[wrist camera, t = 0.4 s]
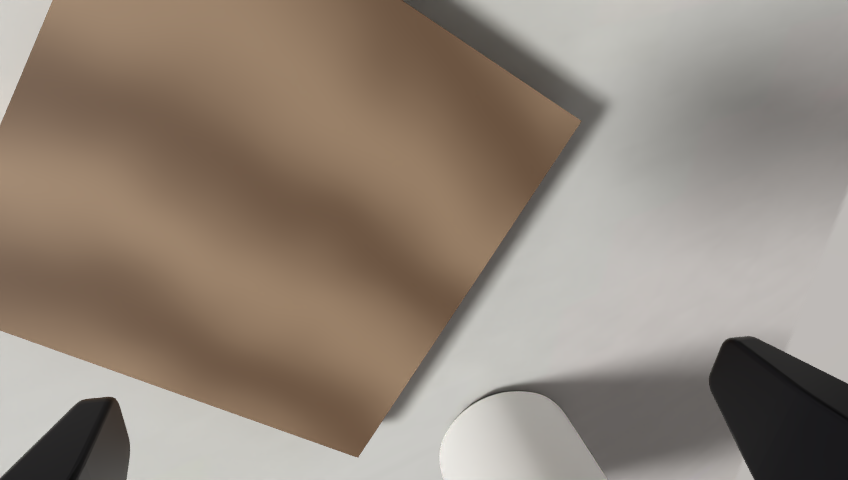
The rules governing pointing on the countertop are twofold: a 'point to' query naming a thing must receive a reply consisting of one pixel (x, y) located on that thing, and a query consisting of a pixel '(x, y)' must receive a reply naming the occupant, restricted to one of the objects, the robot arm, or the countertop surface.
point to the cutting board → (260, 197)
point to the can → (515, 442)
